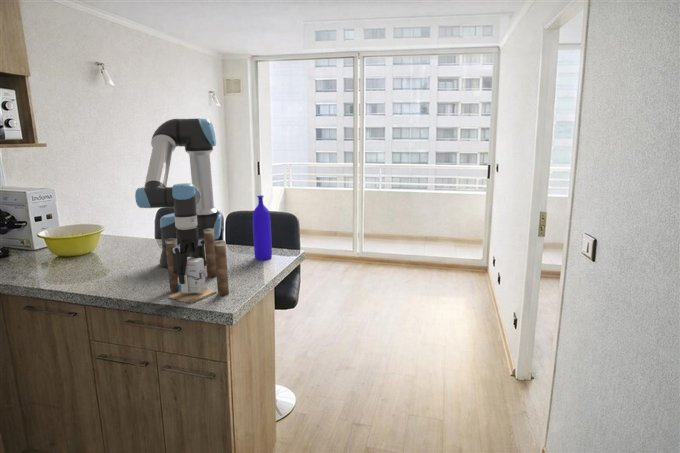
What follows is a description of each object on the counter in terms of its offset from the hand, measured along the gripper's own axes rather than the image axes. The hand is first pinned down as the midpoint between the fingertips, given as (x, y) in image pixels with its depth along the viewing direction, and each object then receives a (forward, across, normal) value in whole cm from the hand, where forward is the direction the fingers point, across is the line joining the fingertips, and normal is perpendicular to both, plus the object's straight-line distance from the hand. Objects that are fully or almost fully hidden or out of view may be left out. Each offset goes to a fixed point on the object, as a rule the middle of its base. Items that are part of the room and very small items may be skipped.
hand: (192, 288), depth 163 cm
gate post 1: (+3, +1, +10) cm, 10 cm away
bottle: (+3, +52, +8) cm, 52 cm away
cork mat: (+3, 0, 0) cm, 3 cm away
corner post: (+3, +6, -9) cm, 11 cm away
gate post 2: (+3, +20, +10) cm, 23 cm away
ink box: (+1, 0, 0) cm, 1 cm away
